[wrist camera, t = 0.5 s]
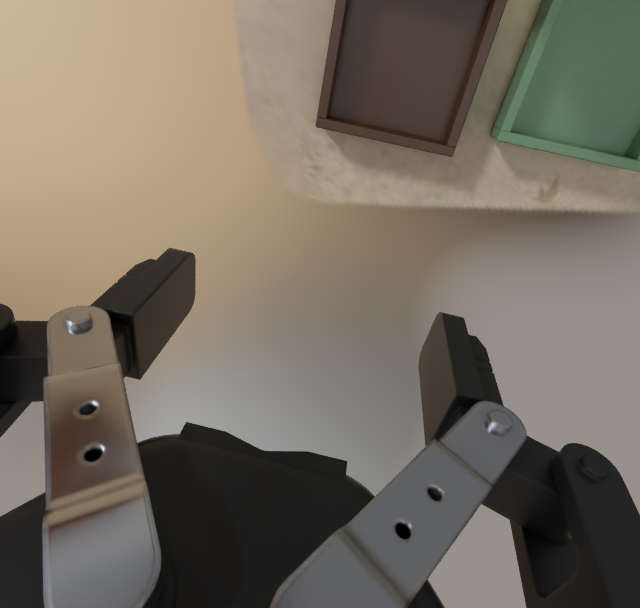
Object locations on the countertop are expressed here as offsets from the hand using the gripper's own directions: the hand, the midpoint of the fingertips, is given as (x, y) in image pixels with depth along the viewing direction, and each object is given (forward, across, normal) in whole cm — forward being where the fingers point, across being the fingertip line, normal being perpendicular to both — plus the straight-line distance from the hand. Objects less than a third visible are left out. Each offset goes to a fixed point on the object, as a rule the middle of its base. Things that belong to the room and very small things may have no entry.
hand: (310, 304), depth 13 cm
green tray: (+29, -17, -8) cm, 34 cm away
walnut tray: (+29, -2, -6) cm, 29 cm away
